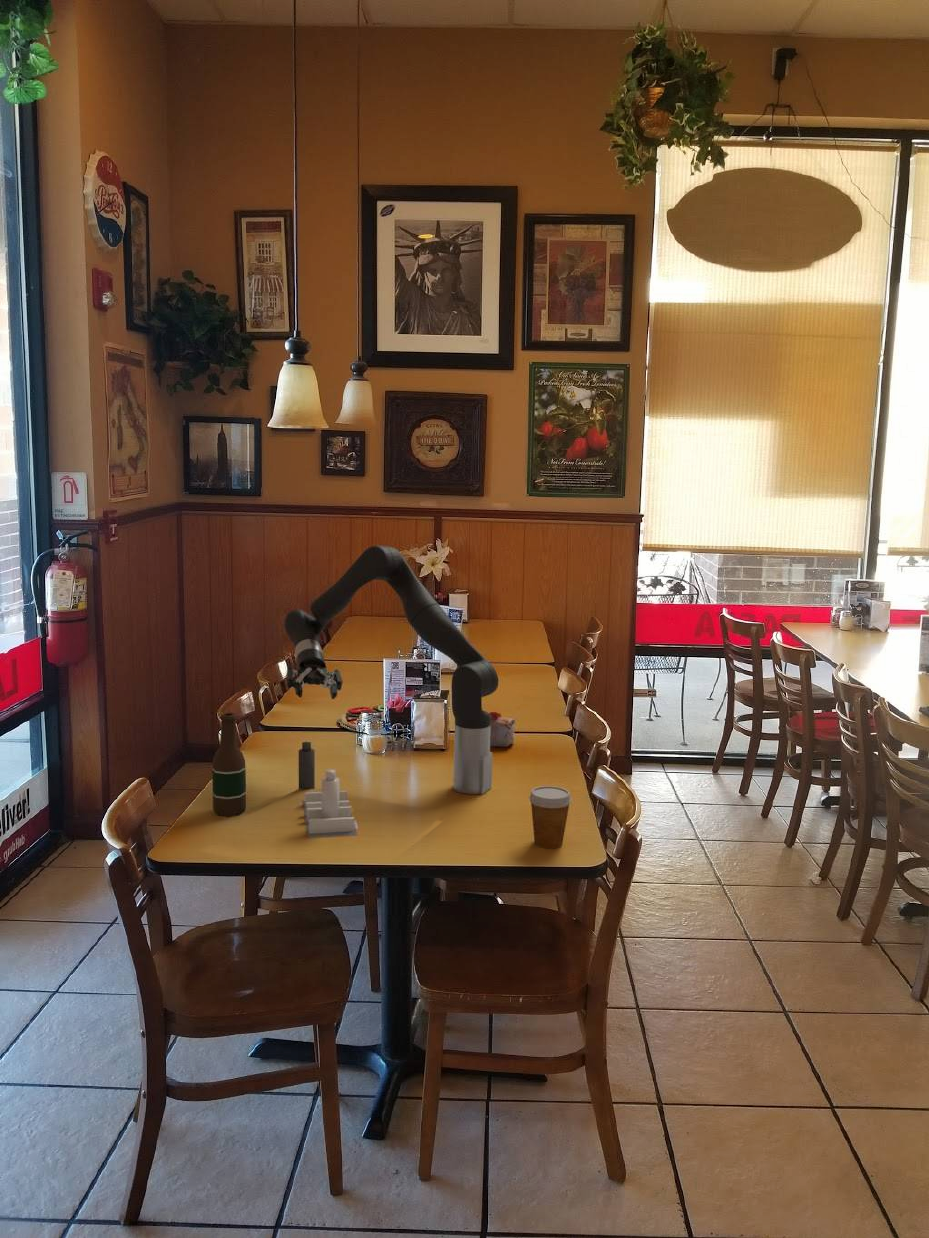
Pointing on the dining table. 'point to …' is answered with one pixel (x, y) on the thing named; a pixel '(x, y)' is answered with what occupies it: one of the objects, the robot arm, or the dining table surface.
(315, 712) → the dining table surface
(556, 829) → the disposable coffee cup
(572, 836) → the dining table surface
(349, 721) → the toy pizza
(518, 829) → the dining table surface
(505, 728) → the food item
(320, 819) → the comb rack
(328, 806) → the white bottle
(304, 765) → the dark grey bottle
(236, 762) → the beer bottle
